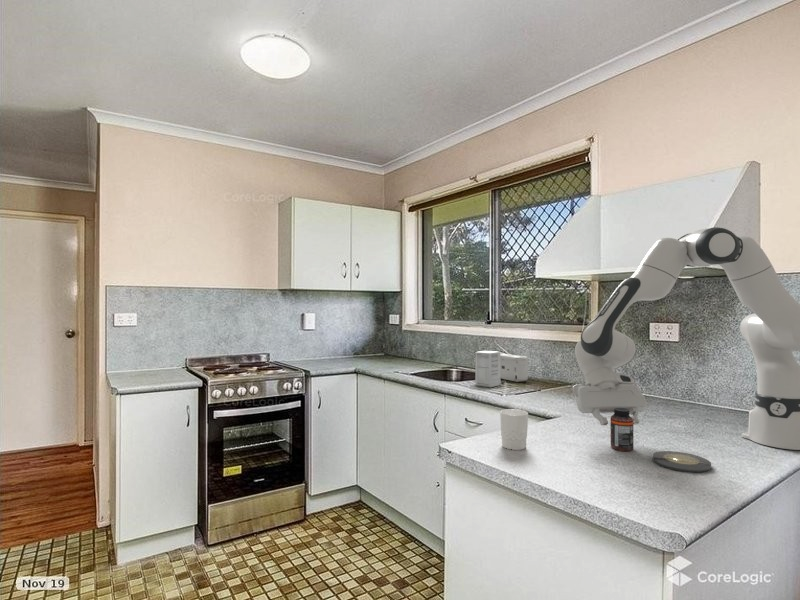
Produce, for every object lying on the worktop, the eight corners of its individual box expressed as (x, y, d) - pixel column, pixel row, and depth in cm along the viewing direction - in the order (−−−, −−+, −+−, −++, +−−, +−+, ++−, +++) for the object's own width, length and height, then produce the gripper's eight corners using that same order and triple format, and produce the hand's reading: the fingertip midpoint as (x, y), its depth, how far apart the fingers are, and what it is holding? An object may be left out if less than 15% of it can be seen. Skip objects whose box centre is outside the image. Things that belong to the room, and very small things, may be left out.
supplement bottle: (610, 444, 138) (610, 405, 138) (633, 447, 135) (633, 407, 135) (610, 450, 133) (610, 410, 133) (633, 453, 130) (633, 412, 130)
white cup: (521, 441, 140) (521, 408, 140) (532, 450, 132) (532, 414, 132) (495, 443, 139) (496, 409, 139) (506, 451, 131) (506, 415, 131)
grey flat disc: (660, 452, 131) (660, 447, 131) (716, 463, 122) (716, 458, 122) (645, 463, 121) (645, 459, 121) (704, 477, 112) (704, 471, 112)
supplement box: (501, 385, 235) (501, 351, 235) (491, 387, 228) (491, 353, 228) (485, 382, 242) (485, 350, 242) (474, 385, 235) (474, 351, 235)
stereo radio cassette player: (528, 381, 246) (528, 343, 246) (517, 383, 241) (517, 344, 242) (501, 376, 264) (501, 340, 264) (490, 377, 260) (490, 341, 260)
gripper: (573, 378, 141) (589, 418, 131) (637, 377, 143) (658, 417, 133) (566, 390, 146) (582, 430, 136) (629, 389, 148) (648, 428, 138)
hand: (620, 424), depth 135 cm, fingers open, 8 cm apart
